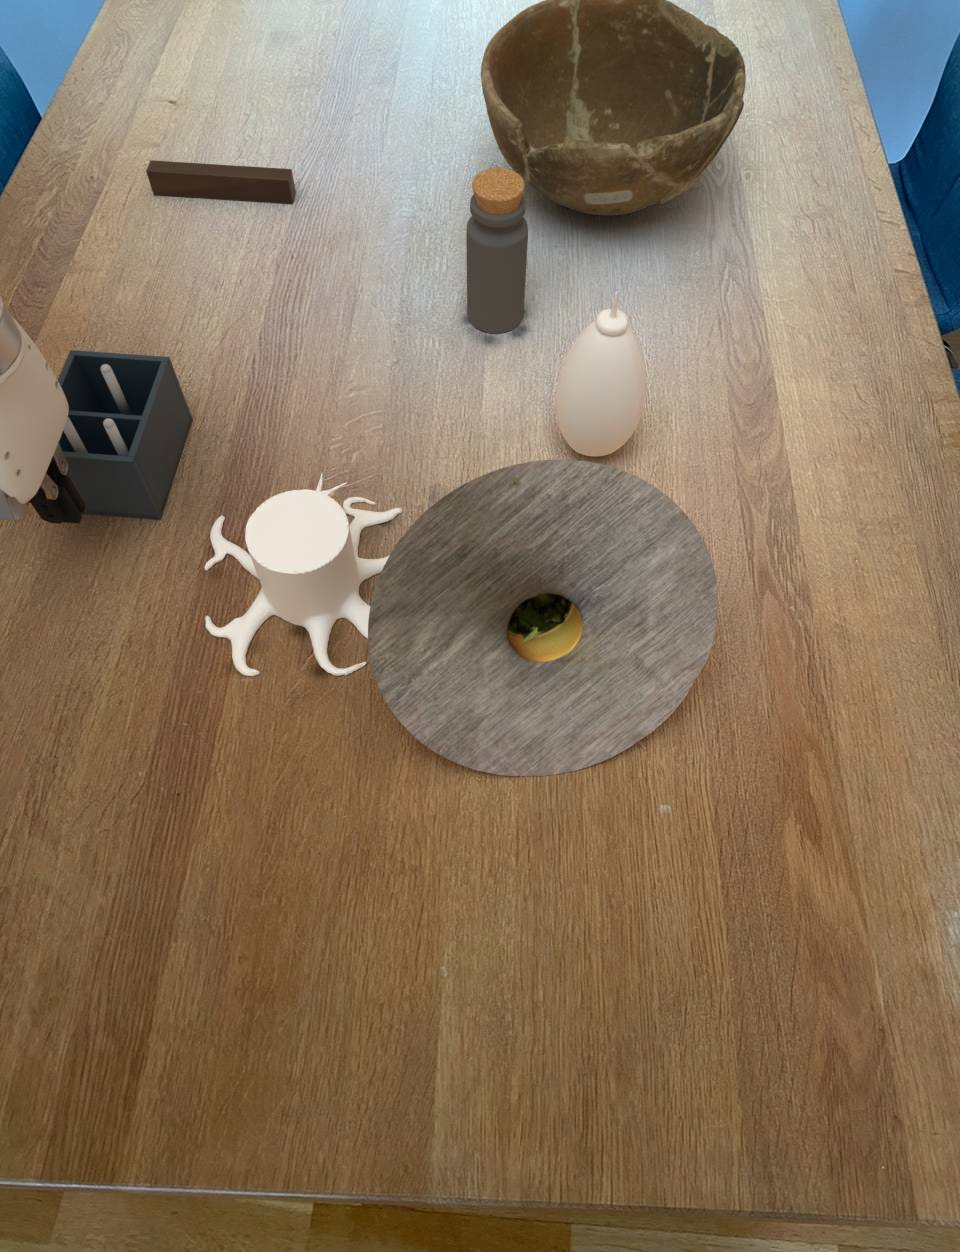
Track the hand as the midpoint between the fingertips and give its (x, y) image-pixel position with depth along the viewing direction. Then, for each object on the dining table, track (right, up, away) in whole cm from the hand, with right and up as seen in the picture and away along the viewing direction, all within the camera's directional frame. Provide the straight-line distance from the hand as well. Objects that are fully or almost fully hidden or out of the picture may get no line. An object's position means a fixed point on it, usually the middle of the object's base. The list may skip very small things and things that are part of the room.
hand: (65, 514), depth 76 cm
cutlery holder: (+1, +6, +12) cm, 13 cm away
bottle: (+35, +23, +22) cm, 47 cm away
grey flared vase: (+38, -12, +1) cm, 40 cm away
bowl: (+47, +40, +32) cm, 70 cm away
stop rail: (+4, +40, +31) cm, 51 cm away
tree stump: (+19, -5, +5) cm, 20 cm away
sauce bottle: (+44, +8, +13) cm, 47 cm away
